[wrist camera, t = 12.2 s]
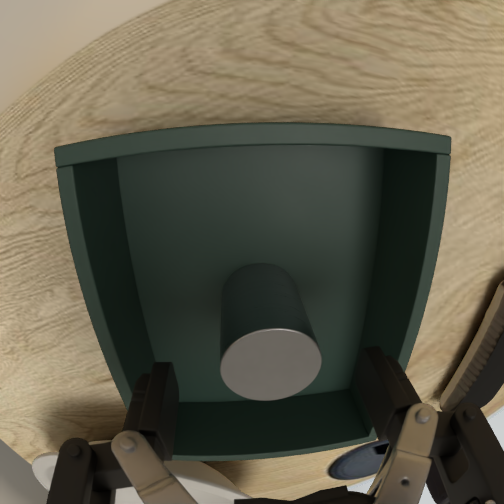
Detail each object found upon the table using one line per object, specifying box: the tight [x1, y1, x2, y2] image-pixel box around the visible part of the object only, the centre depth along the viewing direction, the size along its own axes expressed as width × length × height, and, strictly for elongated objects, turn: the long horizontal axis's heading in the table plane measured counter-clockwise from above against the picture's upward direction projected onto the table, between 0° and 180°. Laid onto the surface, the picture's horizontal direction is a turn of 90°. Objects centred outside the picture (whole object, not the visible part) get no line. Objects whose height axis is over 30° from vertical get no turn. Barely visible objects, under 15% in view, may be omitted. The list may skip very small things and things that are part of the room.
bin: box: [54, 122, 451, 461], centre depth 16 cm, size 20×16×6 cm
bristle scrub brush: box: [439, 281, 504, 411], centre depth 22 cm, size 16×8×4 cm, turn 173°
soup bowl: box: [32, 440, 252, 504], centre depth 24 cm, size 24×24×7 cm
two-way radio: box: [426, 457, 450, 504], centre depth 24 cm, size 6×4×15 cm
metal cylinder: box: [220, 263, 322, 401], centre depth 15 cm, size 4×4×6 cm
